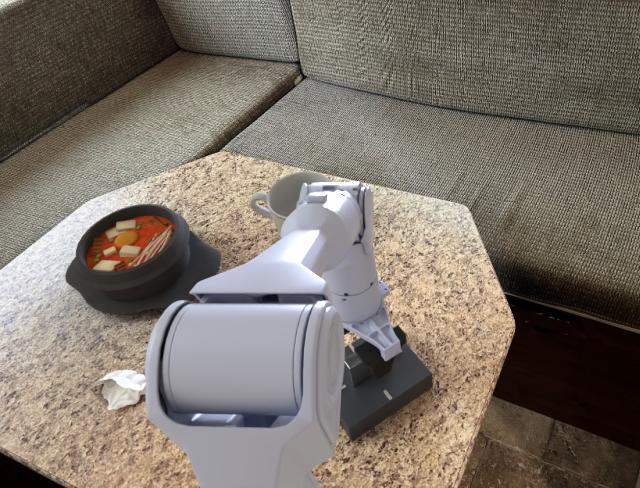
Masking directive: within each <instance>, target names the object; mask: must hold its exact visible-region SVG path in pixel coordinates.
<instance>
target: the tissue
mask: <svg viewBox="0 0 640 488" xmlns="http://www.w3.org/2000/svg"><path fill="white" fill-rule="evenodd" d="M100 385H103V386H102V388H101V395H103V397H102V398H103V399H104V400H107V402H108V405H107V410H108V411H112V410H119V409H120V408H121V409H122V408H124V407H126V406H130V405H135V404H137V403H138V402H139V400H140V399H141V396H142V395H146V376H145V374H143V373H138V372H137V371H136V370H133V369H124V370H123V369H117V370H113V371H111V372H108V373H107V374H105V375H104V376H103V377H101V378H99V379H98V380H96V381H95V382H93V384H91V386H89V387H88V388H87V389H86V390H85V391H84V393H83V395H85V394H88V395H90V396H93V395H94V391H92V389H93V388H94V387H96V386H100Z"/></svg>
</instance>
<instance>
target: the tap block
mask: <svg viewBox="0 0 640 488" xmlns="http://www.w3.org/2000/svg"><path fill="white" fill-rule="evenodd" d="M392 328H393V326H392ZM364 342H366V340H364V339H363V338H361V337H359V338H357V339H356V340H354V341H352V342H351V343H349V344H347V345H345V358H347V357H348V356H350V355H352V354H353V353H355V351H354V348H356V347H357V346H359V345H361V344H362V343H364ZM433 387H434V379H433V373H432V371H430V368H428V367H427V366H426V365H425V364H424V362H423V361H422V360H421V358H419V356H418V355H417V354H416V353H415V352H414V350H413V349H412V348H411V347H410V346H409V345H408V344H407V342H406V343H405V344H404V345H403V346H402V347H401V352H400V353H398V354H397V355H396V356H395V359H394V362H393V365H392V369H391V371H390V372H389V373H387V374H386V375H384V376H383V377H381V378H379V379H376V378H375V377H374V375H372V376H371V377H369V378H367V379H366V380H364V381H363V382H361V383H360V384H358V385H356V386H355V387H353V385H352V384H351V382H350V381H349V380H348V378H347V374H346V370H345V366H344V375H343V383H342V389H341V406H340V426H341V427H342V429H343V431H344V432H345V433H346V435H347V436H348V438H349V440H350V441H351V442H354V441H355V440H357V439H359V438H360V437H362V436H363V435H364V434H366V433H368V432H369V431H371V430H372V429H373V428H374V427H376V426H378V425H380V424H381V423H382V422H384V421H385V420H386V419H388V418H389V417H391V416H392V415H394V414H396V413H397V412H399V411H400V410H401V409H402V408H404V407H406V406H407V405H408V404H410V403H412V402H413V401H414V400H416V399H417V398H419V397H420V396H422V395H423V394H425V393H426V392H428V391H430V390H431V389H432V388H433Z"/></svg>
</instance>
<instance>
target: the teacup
mask: <svg viewBox="0 0 640 488" xmlns="http://www.w3.org/2000/svg"><path fill="white" fill-rule="evenodd" d="M321 182H332V180H331V179H330V178H328V176H327V175H324V174H322V173H320V172H317V171H312V170H311V171H310V170H303V171H302V170H301V171H295V172H292V173H289V174H286V175H284V176H281V178H280V179H278V180H276V181H275V182H274V183H273V184H272V185H271V187H270V188H269V190H268V191H267V193H266V192H262V191H257V192H254V193H252V195H251V196H250V198H249V206H250V209H251V210H252V211H253V212H254V213H256V214H258V215H259V216H261V217H265V218H266V219H267V218H268V219H270V220H271V221H272V222H273V224H274V227H275V228H276V230H277V232H278V233H279V234H280V235H281V229H282V226H283V223H284V222H285V220H286V218H287V217H288V216H289V215H290V214H291V213H292V212H293V211H294V210H295V209H296V205H297V202H298V201H299V198H300V192H301V188H302V185H303V183H306V184H308V185H310V184H312V183H321ZM257 201H262V202H264V203H265V204H266V206H267V208H266V207H263V206H262V205H260V204H259V203H258V202H257Z"/></svg>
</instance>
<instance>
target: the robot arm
mask: <svg viewBox="0 0 640 488" xmlns="http://www.w3.org/2000/svg"><path fill="white" fill-rule="evenodd" d="M374 220H375V205H374V195H373V192H372V189H371V187H370V186H367V187H365V186H364V184H363V183H362V181H331V182H321V183H312V184H310V185H308V184H306V183H303V185H302V188H301V192H300V198H299V201H298V202H297V205H296V209H295V210H294V211H293V212H292V213H291V214H290V215H289V216H288V217H287V218H286V220H285V222H284V223H283V226H282V229H281V234H280V239H279V240H277V241H276V242H275V243H272V244H271V245H269V247H268V248H266V249H264V250H263V251H262V252H260V253H259V254H258V255H256V256H255V257H253V258H251V260H249V261H247V262H246V263H243V264H240V265H238V266H236V267H233V268H230V269H228V270H225V271H222V272H220V273H217V274H216V275H215V276H212V277H210V278H207V279H205V280H202V281H200V282H198V283H197V284H196V285H195V286H194V287H193V289H192V290H191V291H190V292H189V294H192V295H194V296H196V299H197V300H198V301H199V303H197V302H195V301H194V300H192V301H186V300H181V301H176V302H174V303H172V304H171V305H170V306H169V307H168V308H165V310H164V311H163V313H162V314H161V316H160V317H159V319H158V320H157V321H156V323H155V325H154V327H153V329H152V330H151V334H150V337H149V339H148V342H147V349H146V353H145V359H144V361H145V363H144V376H145V377H146V382H145V383H146V394H145V405H146V418H147V420H148V421H149V422H150V423H152V424H153V426H155V427H157V429H158V430H159V431H160V432H161V433H163V434H164V435H165V436H166V437H167V438H168V439H169V440H171V442H172V443H173V444H174V445H176V447H178V448H179V449H180V450H181V451H182V452H183V453H185V454H186V456H187V459H188V461H189V464H190V465H191V468H192V470H193V473H194V475H195V479H196V480H197V483H198V485H199V487H200V488H323V487H322V486H321V484H320V483H319V481H318V480H317V478H316V477H315V475H314V473H313V472H312V470H314V469H315V468H316V467H319V466H320V465H322V464H323V463H325V462H326V461H328V460H330V459H331V458H333V457H334V456H335V452H336V442H337V440H338V438H339V433H340V426H341V424H340V406H341V389H342V383H343V375H344V362H345V347H346V340H345V335H347V334H349V333H352V334H354V335H355V336H356V337H359V338H363V339H364V340H366V342H364V343H362V344H361V345H359V346H357V347H356V348H354V351H355V353H356V354H357V355H358V357H359V358H360V359H361V361H362V362H363V363H364V364H365V365H367V366H369V369H370V371H371V372H372V374H373V375H374V377H375V378H376V379H379V378H381V377H383V376H384V375H386V374H387V373H389V372H390V371H391V369H392V365H393V362H394V359H395V356H396V355H397V354H398V353H400V352H401V347H402V346H403V345H404V344H405V343H406V344H407V342H408V340H407V338H408V337H407V334H406V332H405V331H404V330H403V329H402V328H401V326H400V325H398V324H397V325H395V326H394V327H393V325H392V322H391V319H390V315H389V312H388V308H387V305H386V302H385V298H387V297H388V296H390V293H391V291H390V288H389V286H388V285H387V284H386V283H385V282H384V280H379V275H378V269H377V261H376V256H375V250H374V240H375V239H374V238H375V224H374ZM392 327H393V328H392Z"/></svg>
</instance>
